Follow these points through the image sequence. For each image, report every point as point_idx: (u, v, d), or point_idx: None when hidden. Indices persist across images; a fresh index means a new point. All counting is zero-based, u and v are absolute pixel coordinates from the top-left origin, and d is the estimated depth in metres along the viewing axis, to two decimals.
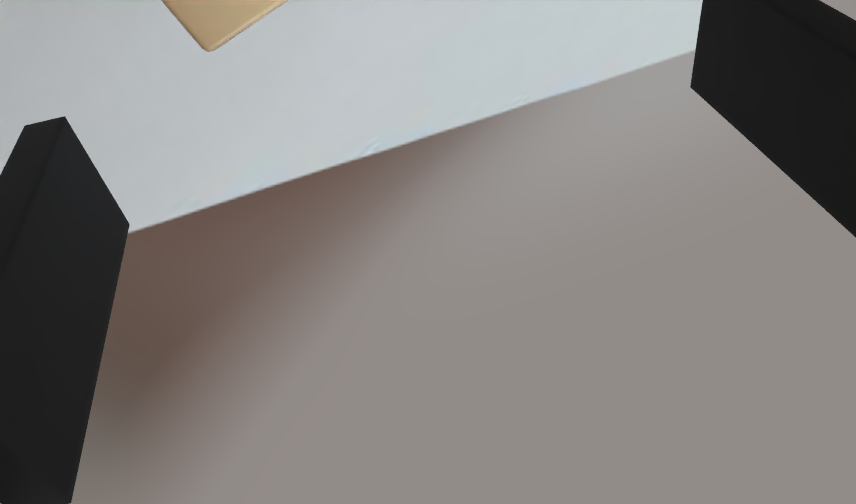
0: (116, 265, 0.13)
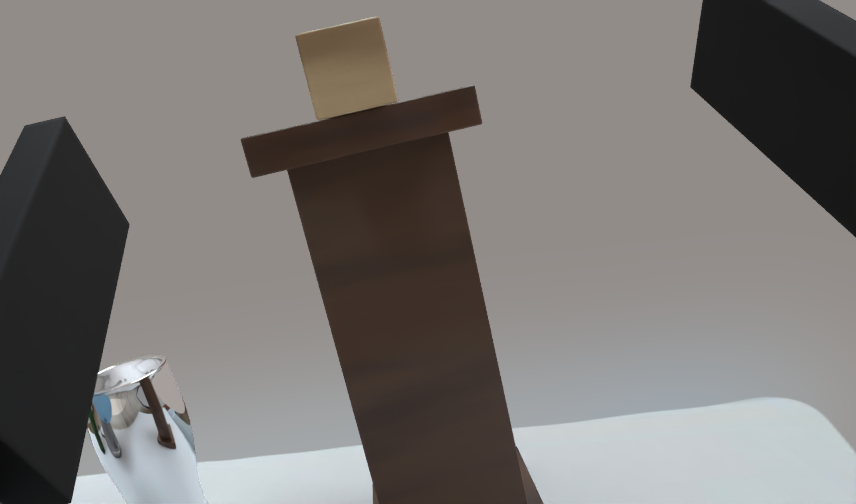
0: (116, 265, 0.13)
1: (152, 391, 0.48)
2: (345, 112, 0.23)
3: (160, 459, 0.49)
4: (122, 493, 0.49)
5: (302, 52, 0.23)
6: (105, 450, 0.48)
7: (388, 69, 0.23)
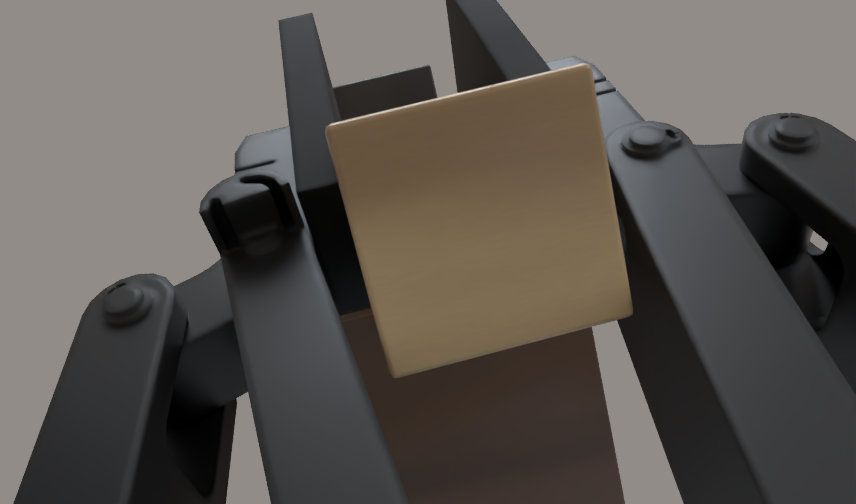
0: None
1: None
2: (477, 354, 0.08)
3: None
4: None
5: (348, 181, 0.07)
6: None
7: (613, 224, 0.07)
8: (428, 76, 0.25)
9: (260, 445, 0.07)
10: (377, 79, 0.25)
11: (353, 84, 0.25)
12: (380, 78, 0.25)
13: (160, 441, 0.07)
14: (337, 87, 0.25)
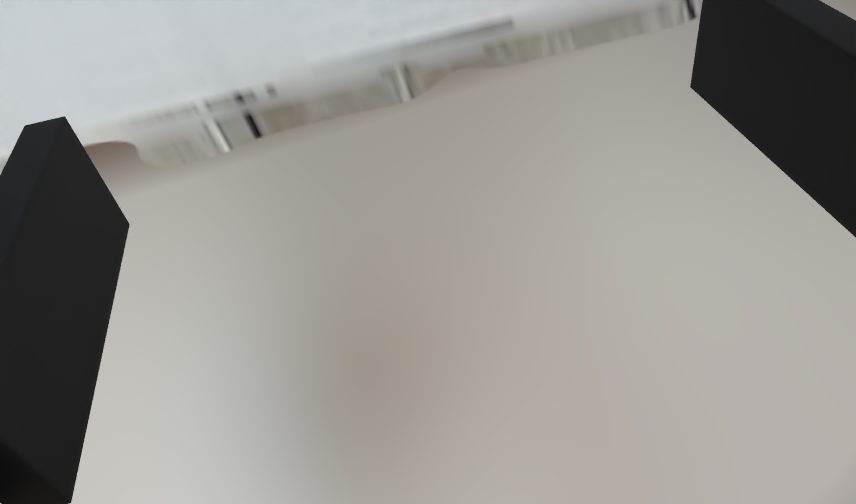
0: (116, 265, 0.13)
1: None
2: None
3: None
4: None
5: None
6: None
7: None
8: None
9: None
10: None
11: None
12: None
13: None
14: None
